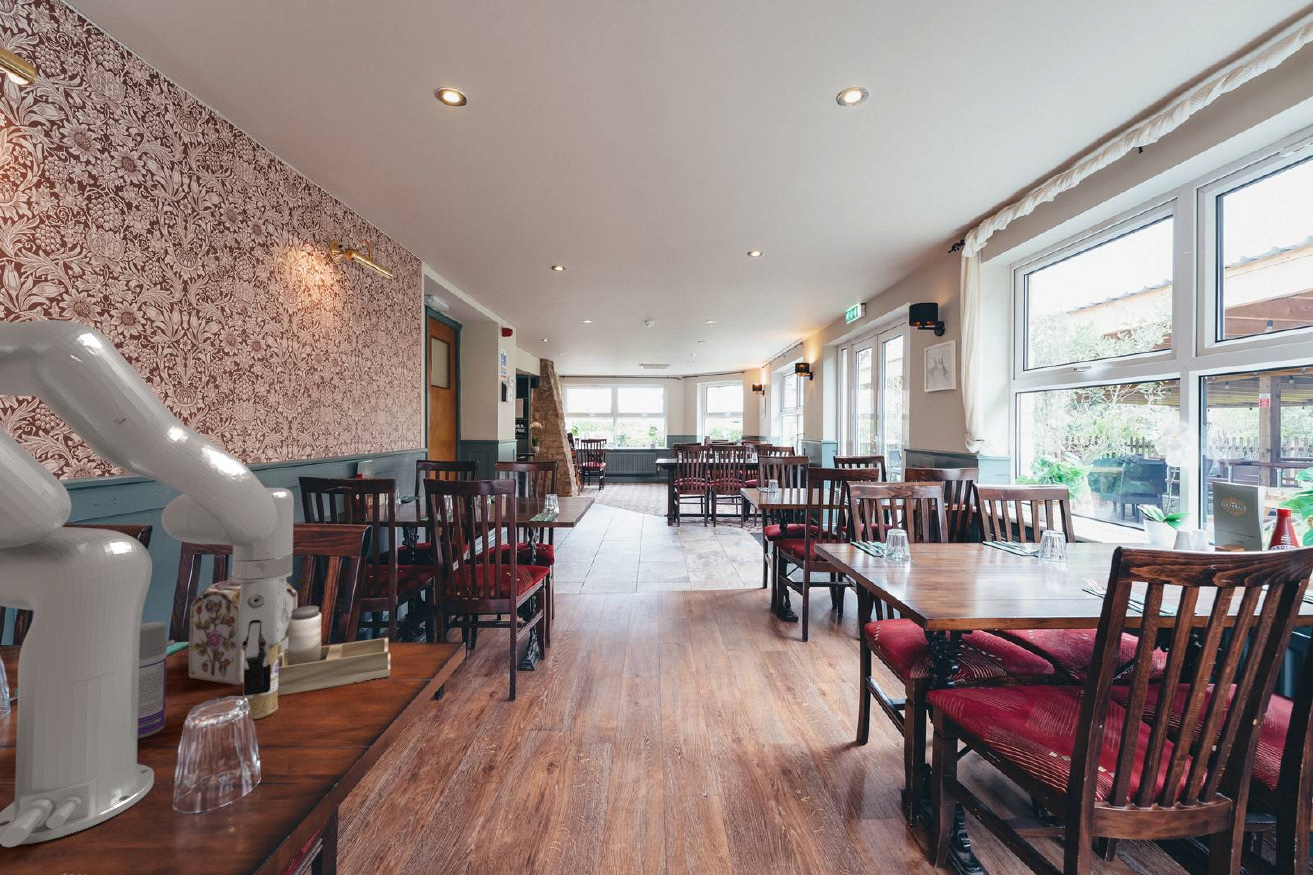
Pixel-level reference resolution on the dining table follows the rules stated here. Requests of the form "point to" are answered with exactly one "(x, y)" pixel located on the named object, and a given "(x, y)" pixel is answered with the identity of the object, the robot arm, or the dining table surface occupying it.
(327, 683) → the wooden caddy
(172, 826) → the dining table surface
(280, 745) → the dining table surface
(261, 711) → the sprinkles bottle
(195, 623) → the decorative jar
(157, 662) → the container
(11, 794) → the dining table surface
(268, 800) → the dining table surface
